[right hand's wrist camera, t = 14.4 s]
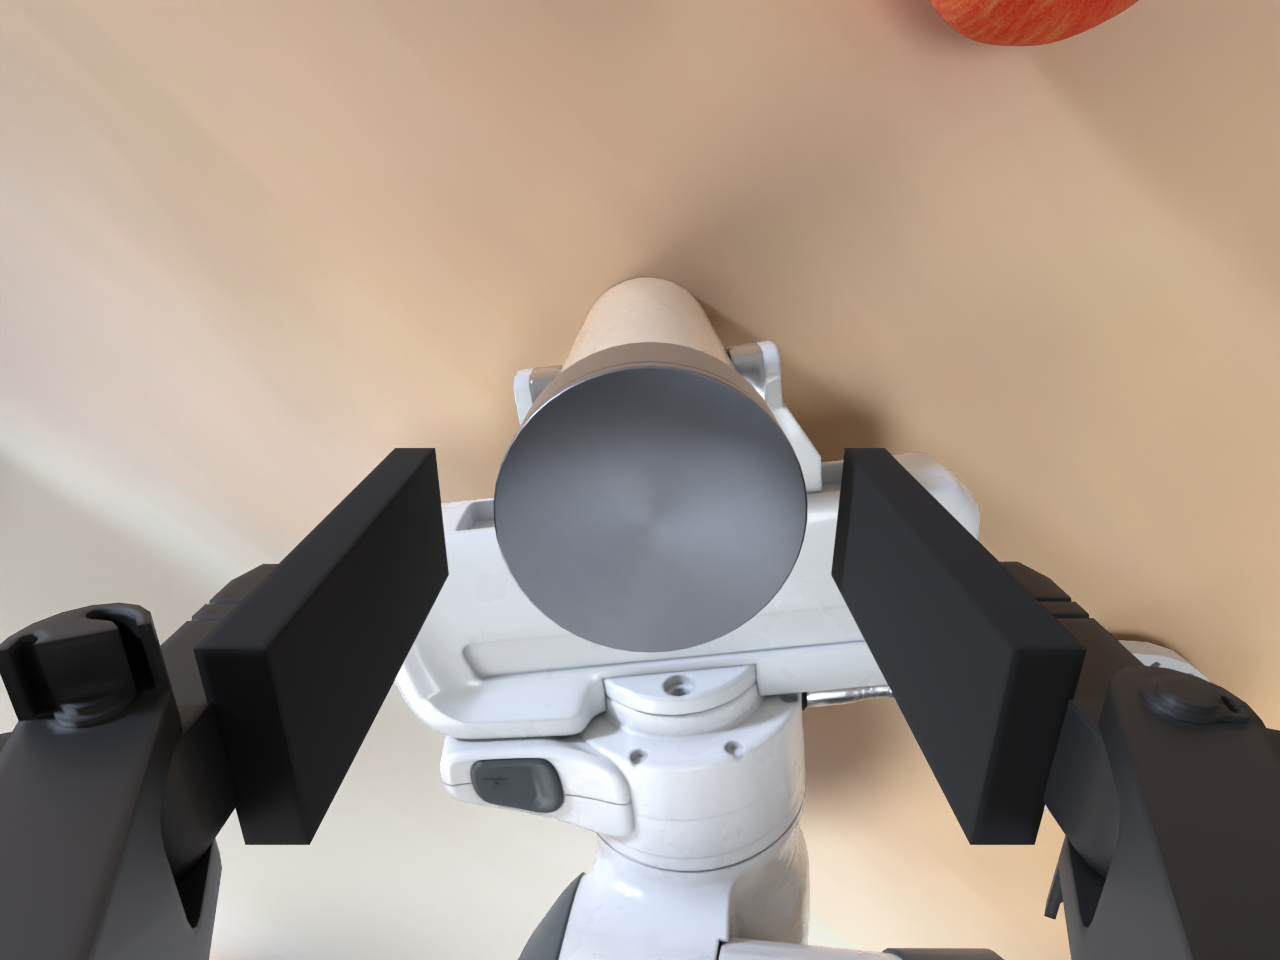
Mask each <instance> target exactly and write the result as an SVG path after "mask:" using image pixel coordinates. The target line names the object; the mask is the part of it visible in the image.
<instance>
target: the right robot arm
mask: <svg viewBox="0 0 1280 960" xmlns="http://www.w3.org/2000/svg"><path fill="white" fill-rule="evenodd" d="M448 576H449V571H448V562H447V553H446V544H445V535H444V525H443V516H442V507H441V498H440V489H439V480H438V471H437V462H436V453H435V448H395V449H394V450H393V451H392V452H391V453H390V454H389V455H388V456H387V457H386V458H385V459H384V460H383V461H382V462H381V463H380V464H379V465H378V466H377V467H376V468H375V469H374V470H373V471H372V472H371V473H370V474H369V475H368V476H367V477H366V478H365V479H364V480H363V481H362V482H361V483H360V484H359V485H358V486H357V487H356V488H355V489H354V490H353V491H352V492H351V493H350V494H349V495H348V496H347V497H346V498H345V499H344V500H343V501H342V502H341V503H340V504H339V505H338V506H337V507H336V508H335V509H334V510H333V511H332V512H331V513H330V514H329V515H328V516H327V517H326V518H325V519H324V520H323V521H322V522H321V523H320V524H319V525H318V526H317V527H316V528H315V529H314V530H312V531H311V532H310V533H309V534H308V535H307V536H306V537H305V538H304V539H303V540H302V541H301V542H300V543H299V544H298V545H297V546H296V547H295V548H294V549H293V550H292V551H291V552H290V553H289V554H288V555H287V556H286V557H285V558H284V559H283V560H282V561H281V562H280V563H279V564H262V565H260V566H258V567H256V568H255V569H253V570H251V571H249V572H247V573H245V574H243V575H241V576H239V577H238V578H236V579H234V580H232V581H230V582H229V583H228V584H227V585H226V586H225V587H224V588H223V589H222V590H221V591H220V592H218V593H217V594H216V595H215V596H214V597H213V598H212V599H211V600H210V604H205V605H204V606H203V607H202V608H201V609H200V610H199V611H198V612H197V613H196V614H195V615H193V616H192V621H187V622H186V623H185V624H184V625H183V626H181V627H180V628H179V629H178V630H177V631H176V632H175V633H174V634H173V635H172V636H171V637H169V638H168V639H167V640H166V641H165V642H164V643H163V644H162V645H161V646H160V644H159V641H158V637H157V634H156V630H155V627H154V623H153V620H152V616H151V613H150V612H149V611H148V610H146V609H144V608H143V607H141V606H139V605H133V604H124V603H112V604H101V605H91V606H87V607H83V608H79V609H75V610H71V611H66V612H62V613H60V614H57V615H54V616H52V617H49V618H46V619H44V620H41V621H38V622H36V623H33V624H31V625H30V626H28V627H26V628H24V629H22V630H21V631H19V632H17V633H15V634H13V635H12V636H10V637H8V638H7V639H6V640H5V641H4V642H3V643H1V644H0V674H1V677H2V679H3V682H4V684H5V687H6V690H7V692H8V695H9V697H10V700H11V702H12V705H13V708H14V710H15V713H16V715H17V718H18V720H19V721H18V723H17V725H16V727H15V728H14V730H13V732H9V733H4V734H0V960H209V954H210V947H211V940H212V934H213V927H214V920H215V913H216V906H217V899H218V892H219V885H220V878H221V871H222V866H221V859H220V853H219V849H218V846H217V843H216V839H215V837H216V836H217V834H218V833H219V831H220V830H221V828H222V827H223V825H224V824H225V822H226V821H227V819H228V818H229V816H230V815H231V813H232V812H233V810H234V809H235V807H236V811H237V815H238V819H239V822H240V826H241V830H242V833H243V837H244V841H245V845H310V843H311V841H312V839H313V837H314V835H315V833H316V831H317V829H318V827H319V826H320V824H321V822H322V820H323V818H324V816H325V814H326V812H327V810H328V808H329V806H330V804H331V802H332V800H333V798H334V796H335V795H336V793H337V791H338V789H339V787H340V785H341V783H342V781H343V779H344V777H345V775H346V773H347V771H348V769H349V767H350V765H351V764H352V762H353V760H354V758H355V756H356V754H357V752H358V750H359V748H360V746H361V744H362V742H363V740H364V738H365V736H366V734H367V733H368V731H369V729H370V727H371V725H372V723H373V721H374V719H375V717H376V715H377V713H378V711H379V709H380V707H381V705H382V703H383V702H384V700H385V698H386V696H387V694H388V692H389V690H390V688H391V686H392V684H393V682H394V680H395V678H396V676H397V674H398V673H399V671H400V669H401V667H402V665H403V663H404V661H405V659H406V657H407V655H408V653H409V651H410V649H411V647H412V645H413V643H414V642H415V640H416V638H417V636H418V634H419V632H420V630H421V628H422V626H423V624H424V622H425V620H426V618H427V616H428V614H429V612H430V611H431V609H432V607H433V605H434V603H435V601H436V599H437V597H438V595H439V593H440V591H441V589H442V587H443V585H444V583H445V581H446V580H447V578H448ZM831 576H832V578H833V580H834V581H835V583H836V585H837V587H838V589H839V591H840V593H841V595H842V597H843V599H844V601H845V603H846V605H847V607H848V609H849V611H850V612H851V614H852V616H853V618H854V620H855V622H856V624H857V626H858V628H859V630H860V632H861V634H862V636H863V638H864V640H865V642H866V643H867V645H868V647H869V649H870V651H871V653H872V655H873V657H874V659H875V661H876V663H877V665H878V667H879V669H880V671H881V673H882V674H883V676H884V678H885V680H886V682H887V684H888V686H889V688H890V690H891V692H892V694H893V696H894V698H895V700H896V702H897V703H898V705H899V707H900V709H901V711H902V713H903V715H904V717H905V719H906V721H907V723H908V725H909V727H910V729H911V731H912V733H913V734H914V736H915V738H916V740H917V742H918V744H919V746H920V748H921V750H922V752H923V754H924V756H925V758H926V760H927V762H928V764H929V765H930V767H931V769H932V771H933V773H934V775H935V777H936V779H937V781H938V783H939V785H940V787H941V789H942V791H943V793H944V795H945V796H946V798H947V800H948V802H949V804H950V806H951V808H952V810H953V812H954V814H955V816H956V818H957V820H958V822H959V824H960V826H961V827H962V829H963V831H964V833H965V835H966V837H967V839H968V841H969V843H970V845H1035V841H1036V837H1037V833H1038V830H1039V826H1040V822H1041V819H1042V815H1043V811H1044V807H1045V805H1046V806H1047V808H1048V809H1049V811H1050V812H1051V814H1052V815H1053V817H1054V818H1055V820H1056V821H1057V823H1058V824H1059V826H1060V827H1061V829H1062V830H1063V832H1064V833H1065V835H1066V836H1065V839H1064V843H1063V846H1062V849H1061V853H1060V856H1059V860H1058V863H1057V867H1056V870H1055V874H1054V877H1053V881H1052V884H1051V888H1050V891H1049V895H1048V898H1047V903H1046V909H1045V915H1044V916H1046V917H1049V918H1052V919H1056V915H1057V912H1058V909H1059V905H1060V903H1062V902H1063V904H1064V910H1065V917H1066V924H1067V931H1068V938H1069V945H1070V952H1071V959H1072V960H1280V731H1279V730H1273V729H1268V728H1266V727H1265V725H1264V723H1263V722H1262V720H1261V719H1260V718H1259V717H1258V716H1257V714H1256V713H1255V712H1254V711H1253V710H1252V709H1251V708H1250V707H1249V706H1248V704H1247V703H1245V702H1244V701H1242V700H1240V699H1239V698H1237V697H1236V696H1234V695H1233V694H1231V693H1230V692H1228V691H1227V690H1225V689H1224V688H1222V687H1219V686H1217V685H1215V684H1213V683H1211V682H1208V681H1206V680H1204V679H1202V678H1199V677H1197V676H1194V675H1190V674H1187V673H1183V672H1180V671H1176V670H1173V669H1169V668H1162V667H1153V666H1145V665H1144V664H1143V663H1142V662H1141V661H1140V660H1138V659H1137V658H1136V657H1135V656H1134V655H1133V654H1132V653H1131V652H1130V651H1129V650H1127V649H1126V648H1125V647H1124V646H1123V645H1122V644H1121V643H1120V642H1119V641H1118V640H1117V639H1115V638H1114V637H1113V636H1112V635H1111V634H1110V633H1109V632H1108V631H1107V630H1106V629H1104V628H1103V627H1102V626H1101V625H1100V624H1099V623H1098V622H1097V621H1096V620H1095V619H1094V618H1089V614H1088V613H1087V612H1086V611H1085V610H1084V609H1083V608H1081V607H1080V606H1079V605H1078V604H1077V603H1076V602H1071V598H1070V597H1069V596H1068V595H1067V594H1066V593H1065V592H1064V591H1063V590H1062V589H1061V588H1060V587H1058V586H1057V585H1056V584H1055V583H1054V582H1053V581H1052V580H1051V579H1050V578H1048V577H1046V576H1044V575H1042V574H1040V573H1038V572H1036V571H1034V570H1033V569H1031V568H1029V567H1027V566H1025V565H1023V564H1021V563H1019V562H999V561H998V560H997V559H996V558H995V557H994V556H993V555H992V554H991V553H990V552H989V551H988V550H987V549H986V548H985V547H984V546H983V545H982V544H981V543H980V542H979V541H978V540H977V539H976V538H975V537H974V536H973V535H972V534H971V533H970V532H969V531H967V530H966V529H965V528H964V527H963V526H962V525H961V524H960V523H959V522H958V521H957V520H956V519H955V518H954V517H953V516H952V515H951V514H950V513H949V512H948V511H947V510H946V509H945V508H944V507H943V506H942V505H941V504H940V503H939V502H938V501H937V500H936V499H935V498H934V497H933V496H932V495H931V494H930V493H929V492H928V491H927V490H926V489H925V488H924V487H923V486H922V485H921V484H920V483H919V482H918V481H917V480H916V479H915V478H914V477H913V476H912V475H911V474H910V473H909V472H908V471H907V470H906V469H905V468H904V467H903V466H902V465H901V464H900V463H899V462H898V461H897V460H896V459H895V458H894V457H893V456H892V455H891V454H890V453H889V452H888V451H887V450H886V449H885V448H845V453H844V462H843V471H842V480H841V489H840V498H839V507H838V516H837V525H836V535H835V544H834V553H833V562H832V571H831Z"/></svg>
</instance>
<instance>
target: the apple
mask: <svg viewBox="0 0 1280 960" xmlns="http://www.w3.org/2000/svg"><path fill="white" fill-rule="evenodd" d="M929 1H930V3H931V4H932V6H933V7H934V9H935V10H936V11H937V12H938V14H939V15H940V16H941V17H942V18H943V19H944V20H945V21H946V22H947V24H949V25H950V26H951V27H952V28H953V29H954V30H956V31H957V32H959V33H960V34H962V35H964V36H965V37H968V38H970V39H972V40H975V41H978V42H982V43H986V44H992V45H1003V46H1031V45H1041V44H1048V43H1052V42H1056V41H1060V40H1063V39H1066V38H1069V37H1071V36H1074V35H1077V34H1079V33H1081V32H1084V31H1086V30H1088V29H1091V28H1093V27H1095V26H1097V25H1099V24H1101V23H1103V22H1105V21H1106V20H1108V19H1110V18H1112V17H1114V16H1116V15H1117V14H1119V13H1121V12H1123V11H1124V10H1126V9H1127V8H1129V7H1130V6H1131V5H1133V4H1134V3H1136V2H1137V1H1138V0H929Z"/></svg>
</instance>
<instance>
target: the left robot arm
mask: <svg viewBox="0 0 1280 960" xmlns="http://www.w3.org/2000/svg"><path fill="white" fill-rule="evenodd" d="M726 352H727V354H728V356H729V358H730V360H731V362H732V364H733V365H734V367H735V369H736V371H738V372H739V373H740V374H741V375H742V376H743V377H744V378H745V379H746V380H748V381H749V382H750V383H751V384H752V385H753V387H754V388H755V389H756V390H757V391H758V392H759V394H760V395H761V396H762V397H763V399H764V400H765V402H766V404H767V405H768V407H769V408H770V410H771V412H772V413H773V415H774V417H775V418H776V420H777V422H778V423H779V425H780V427H781V428H782V430H783V432H784V433H785V435H786V437H787V438H788V440H789V442H790V443H791V445H792V447H793V449H794V452H795V454H796V456H797V458H798V461H799V463H800V466H801V469H802V473H803V477H804V480H805V485H806V493H807V501H808V506H807V525H806V531H805V537H804V541H803V544H802V547H801V551H800V554H799V557H798V559H797V561H796V563H795V565H794V567H793V570H792V572H791V574H790V575H789V577H788V578H787V580H786V582H785V583H784V585H783V586H782V588H781V589H780V591H779V592H778V593H777V594H776V595H775V596H774V598H773V599H772V600H771V601H770V602H769V604H767V605H766V606H765V607H764V608H763V609H762V610H761V611H760V612H759V613H758V614H757V615H755V616H754V617H753V618H752V619H750V620H749V621H747V622H746V623H745V624H743V625H742V626H740V627H739V628H737V629H735V630H733V631H732V632H730V633H728V634H726V635H724V636H722V637H720V638H717V639H715V640H712V641H710V642H708V643H705V644H701V645H698V646H694V647H691V648H687V649H681V650H675V651H669V652H651V653H649V652H631V651H625V650H619V649H613V648H609V647H606V646H602V645H599V644H595V643H593V642H590V641H588V640H585V639H583V638H580V637H578V636H576V635H574V634H572V633H571V632H569V631H567V630H565V629H563V628H562V627H560V626H559V625H557V624H556V623H554V622H553V621H552V620H550V619H549V618H547V617H546V616H545V615H544V614H543V613H542V612H541V611H539V610H538V609H537V608H536V607H535V606H534V605H533V604H532V603H531V602H530V601H529V599H528V598H527V597H526V596H525V595H524V593H523V592H522V591H521V590H520V588H519V587H518V585H517V584H516V582H515V581H514V579H513V578H512V576H511V574H510V573H509V570H508V568H507V566H506V564H505V562H504V560H503V557H502V555H501V551H500V548H499V545H498V542H497V538H496V532H495V525H494V505H493V501H494V498H485V499H476V500H466V501H457V502H448V503H441V507H442V516H443V525H444V535H445V544H446V553H447V562H448V571H449V576H448V578H447V580H446V581H445V583H444V585H443V587H442V589H441V591H440V593H439V595H438V597H437V599H436V601H435V603H434V605H433V607H432V609H431V611H430V612H429V614H428V616H427V618H426V620H425V622H424V624H423V626H422V628H421V630H420V632H419V634H418V636H417V638H416V640H415V642H414V643H413V645H412V647H411V649H410V651H409V653H408V655H407V657H406V659H405V661H404V663H403V665H402V667H401V669H400V671H399V673H398V674H397V676H396V678H395V682H396V684H397V686H398V688H399V690H400V692H401V694H402V696H403V698H404V699H405V701H406V703H407V704H408V706H409V707H410V709H411V710H412V711H413V713H414V714H415V715H416V716H417V717H418V718H419V719H420V720H421V721H422V722H423V723H424V724H426V725H427V726H428V727H430V728H432V729H433V730H435V731H437V732H439V733H441V734H444V735H446V737H445V741H444V746H443V751H442V756H441V762H440V772H441V778H442V781H443V784H444V787H445V789H446V790H447V792H448V793H449V794H450V795H451V796H452V797H453V798H455V799H457V800H459V801H462V802H465V803H469V804H475V805H481V806H487V807H494V808H500V809H506V810H512V811H518V812H523V813H528V814H533V815H538V816H542V817H546V818H551V819H555V820H558V821H562V822H566V823H569V824H573V825H576V826H579V827H582V828H585V829H588V830H591V831H594V832H595V834H596V839H597V853H596V860H595V865H594V868H593V869H592V871H591V872H590V873H588V874H585V873H584V872H583V873H581V874H580V875H579V876H578V877H577V878H576V879H575V880H574V881H573V882H571V883H570V885H569V886H568V887H567V888H566V889H565V890H564V892H563V893H562V894H561V895H560V896H559V898H558V899H557V901H556V902H555V903H554V905H553V906H552V907H551V909H550V910H549V911H548V913H547V914H546V916H545V917H544V918H543V920H542V921H541V923H540V924H539V925H538V927H537V928H536V929H535V931H534V932H533V934H532V935H531V937H530V939H529V940H528V942H527V944H526V946H525V947H524V949H523V951H522V953H521V955H520V957H519V959H518V960H1004V959H1003V958H1001V957H1000V956H999V955H997V954H996V953H995V952H993V951H992V950H989V949H952V948H887V949H885V950H884V951H882V952H871V951H861V950H851V949H842V948H832V947H822V946H813V945H807V944H808V931H809V913H810V878H809V859H808V852H807V847H806V843H805V839H804V836H803V833H802V830H801V828H800V826H799V824H798V823H799V821H800V818H801V814H802V810H803V806H804V800H805V790H806V782H805V756H804V732H803V717H802V710H804V709H805V708H809V707H820V706H831V705H842V704H848V703H853V702H858V701H860V700H862V701H863V700H867V699H874V698H876V699H878V698H887V699H894V700H895V698H894V696H893V694H892V692H891V690H890V688H889V686H888V684H887V682H886V680H885V678H884V676H883V674H882V673H881V671H880V669H879V667H878V665H877V663H876V661H875V659H874V657H873V655H872V653H871V651H870V649H869V647H868V645H867V643H866V642H865V640H864V638H863V636H862V634H861V632H860V630H859V628H858V626H857V624H856V622H855V620H854V618H853V616H852V614H851V612H850V611H849V609H848V607H847V605H846V603H845V601H844V599H843V597H842V595H841V593H840V591H839V589H838V587H837V585H836V583H835V581H834V580H833V578H832V576H831V571H832V562H833V553H834V544H835V535H836V525H837V516H838V507H839V498H840V489H841V480H842V471H843V462H844V460H838V461H829V462H821V456H820V455H819V453H818V452H817V450H816V449H815V447H814V446H813V444H812V443H811V441H810V440H809V438H808V437H807V435H806V434H805V432H804V431H803V430H802V428H801V427H800V425H799V424H798V422H797V421H796V419H795V418H794V416H793V415H792V413H791V412H790V411H789V409H788V408H787V406H786V405H785V403H784V402H783V400H782V383H781V362H780V355H779V350H778V347H777V346H776V344H775V343H774V342H773V341H772V340H771V341H763V342H754V343H746V344H738V345H731V346H726ZM562 367H563V365H561V366H550V367H540V368H529V369H523V370H519V371H518V373H517V374H516V375H515V377H514V395H515V400H516V405H517V411H518V416H519V421H520V426H521V424H522V422H523V420H524V418H525V416H526V414H527V413H528V411H529V409H530V408H531V406H532V405H533V403H534V401H535V400H536V398H537V397H538V396H539V395H540V393H541V392H542V391H543V390H544V389H545V387H546V386H547V385H548V384H549V383H550V382H551V381H552V380H553V379H555V378H556V377H557V376H558V375H559V374H560V372H561V370H562ZM892 456H893V457H894V458H895V459H896V460H897V461H898V462H899V463H900V464H901V465H902V466H903V467H904V468H905V469H906V470H907V471H908V472H909V473H910V474H911V475H912V476H913V477H914V478H915V479H916V480H917V481H918V482H919V483H920V484H921V485H922V486H923V487H924V488H925V489H926V490H927V491H928V492H929V493H930V494H931V495H932V496H933V497H934V498H935V499H936V500H937V501H938V502H939V503H940V504H941V505H942V506H943V507H944V508H945V509H946V510H947V511H948V512H949V513H950V514H951V515H952V516H953V517H954V518H955V519H956V520H957V521H958V522H959V523H960V524H961V525H962V526H963V527H964V528H965V529H966V530H967V531H969V532H970V533H971V534H972V535H973V536H974V537H975V538H976V539H977V540H978V536H979V527H980V510H979V506H978V503H977V501H976V499H975V498H974V496H973V495H972V493H971V492H970V491H969V490H968V488H967V487H966V486H965V485H964V484H963V483H962V482H961V481H960V480H959V479H958V478H957V477H956V476H955V475H954V474H953V473H952V472H951V471H950V470H948V469H947V468H946V467H944V466H943V465H942V464H941V463H939V462H938V461H937V460H935V459H934V458H933V457H931V456H930V455H928V454H925V453H921V452H913V453H903V454H894V455H892Z"/></svg>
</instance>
